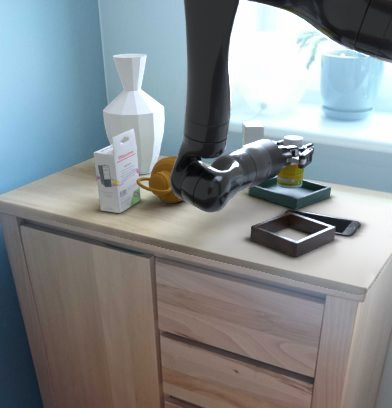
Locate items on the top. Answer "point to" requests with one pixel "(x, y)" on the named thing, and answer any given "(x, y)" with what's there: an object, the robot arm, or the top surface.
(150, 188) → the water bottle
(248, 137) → the cosmetic box
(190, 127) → the robot arm
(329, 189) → the tray
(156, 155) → the vase
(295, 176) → the supplement bottle
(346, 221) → the smartphone
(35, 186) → the top surface
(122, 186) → the ink box
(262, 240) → the frame
